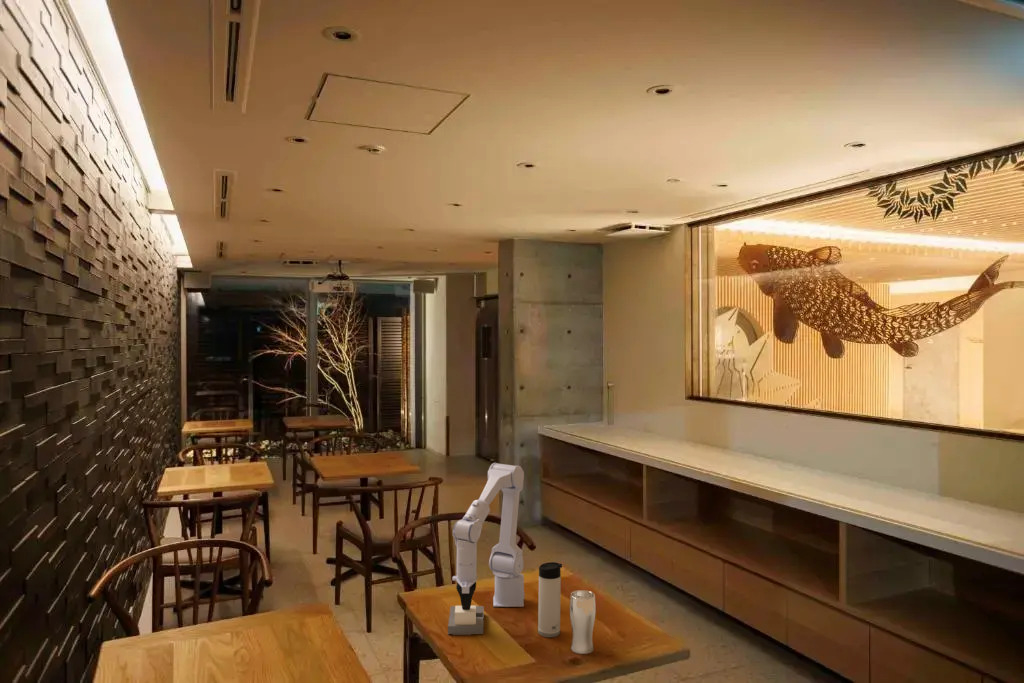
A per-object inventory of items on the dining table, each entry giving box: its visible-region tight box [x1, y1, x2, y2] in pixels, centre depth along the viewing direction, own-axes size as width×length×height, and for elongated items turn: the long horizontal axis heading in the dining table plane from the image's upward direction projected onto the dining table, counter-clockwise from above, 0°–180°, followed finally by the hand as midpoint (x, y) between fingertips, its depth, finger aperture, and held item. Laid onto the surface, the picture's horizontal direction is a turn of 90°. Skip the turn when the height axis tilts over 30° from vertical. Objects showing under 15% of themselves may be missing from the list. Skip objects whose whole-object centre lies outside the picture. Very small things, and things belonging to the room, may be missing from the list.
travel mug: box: [537, 561, 563, 638], centre depth 201 cm, size 6×7×20 cm
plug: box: [454, 605, 483, 625], centre depth 203 cm, size 8×5×6 cm, turn 93°
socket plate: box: [447, 605, 485, 636], centre depth 206 cm, size 10×14×2 cm
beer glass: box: [569, 589, 597, 655], centre depth 191 cm, size 7×7×15 cm
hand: (466, 608), depth 203 cm, fingers closed
